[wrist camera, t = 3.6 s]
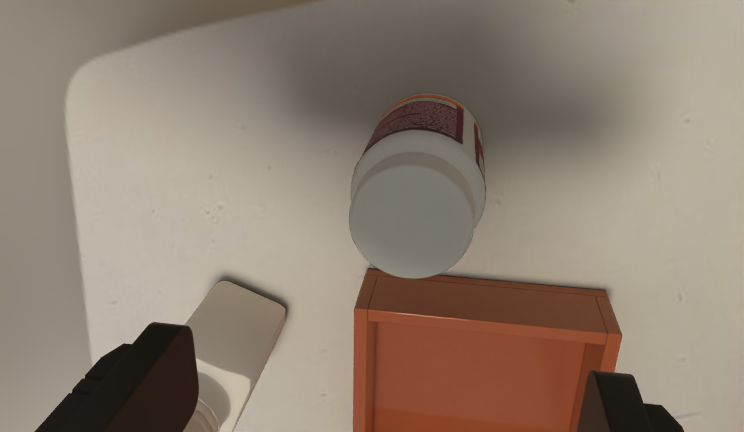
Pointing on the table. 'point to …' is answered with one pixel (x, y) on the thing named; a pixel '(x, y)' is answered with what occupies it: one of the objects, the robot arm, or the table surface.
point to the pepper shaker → (230, 352)
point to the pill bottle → (419, 187)
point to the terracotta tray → (476, 354)
